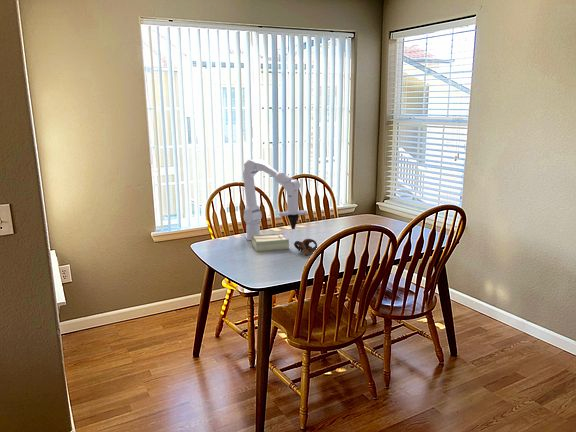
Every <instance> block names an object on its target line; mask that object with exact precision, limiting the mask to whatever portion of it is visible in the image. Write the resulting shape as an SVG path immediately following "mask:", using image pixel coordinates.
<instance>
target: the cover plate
mask: <svg viewBox="0 0 576 432" xmlns="http://www.w3.org/2000/svg"><path fill="white" fill-rule="evenodd" d="M253 239H254V241H255V242H258V241H270V240H282V239H287V238H286V237H285V236H284V234H283V235H282V234H277V235H265V236H253Z"/></svg>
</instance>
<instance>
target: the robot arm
mask: <svg viewBox="0 0 576 432" xmlns="http://www.w3.org/2000/svg"><path fill="white" fill-rule="evenodd" d="M243 168H244V169H243V172H242V175H243V176H242V177H243V178H242V179H243V186H244V194H245V202H246V207H244V210H243V220H244V222H245V224H246V226H245V227H246V228H245V229H246V234H245V235H244V237H245V239H246V240H247V241H252V235H261V229H260V227H261V226H260V222H261V220H262V218H263V213H262V211H261V208H260V206H259V205H258V203H257V195H256V187H255V186H256V185H255V178H254V176H255V175H256V174H257V173H258V172H262V171H263V172H264V173H266V174H267V175H269V176H271V177H273V178H274V181H275V182H276V183H278V185H281V186H282V187H283V188H284V190H285V192H286V199H287V200H286V204H287V205H286V206H287V208H286V209H287V210H286V211H279V212H278V216H279V217H287V219H288V222H289V224H290V227H291V230H295V229H296V225H297V222H298V220H299V218H300V216H301V215H305V216H306V215H308V211H307V210H306V209H305V210H299V190H300V188H301V183H300V181H299V180H298V179H295V178H294V179H293V177H290V176H289V175H287V174H286V172H283V171H279V172H278V170H276V169H275V168H273V167H272V166H270V165H269V164H268V163H267V162H266V161H265V160H264V159H262V158H260V157H259V158H258V157H257V158H255V159H247V160H246V162H245V163H244V164H243Z"/></svg>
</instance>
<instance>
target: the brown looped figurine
mask: <svg viewBox="0 0 576 432" xmlns="http://www.w3.org/2000/svg"><path fill="white" fill-rule="evenodd" d="M311 243H313V244H314V245H315V246H313V247H312V246H310V244H311ZM293 246H294V248H295V249H296V250H298V252H303V251H304V252H303V255H304V256H306V257H307V256H308V255H310V254H314V253H315V252H316V251H317V250H316V248H317V247H318V242H317V241H316V240H314V239H312V238H305V239H303V240H302V241H299V240H296V241H294V243H293ZM317 249H318V248H317ZM315 250H316V251H315ZM314 251H315V252H314ZM313 252H314V253H313Z"/></svg>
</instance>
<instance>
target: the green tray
mask: <svg viewBox="0 0 576 432" xmlns="http://www.w3.org/2000/svg"><path fill="white" fill-rule="evenodd" d="M277 234H282V235H283V236H284V232H279V233H263V234H262V233H261V234H260V235H252V240H251V246H252V247H253V249H254V251H255V252H256V253H260V252H270V251H273V252H274V251H281V250H283V251H284V250H289V249H290V239H289V238H286V239H282V240H270V241H258V242H255V241H254V239H253V236H265V235H277Z"/></svg>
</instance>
